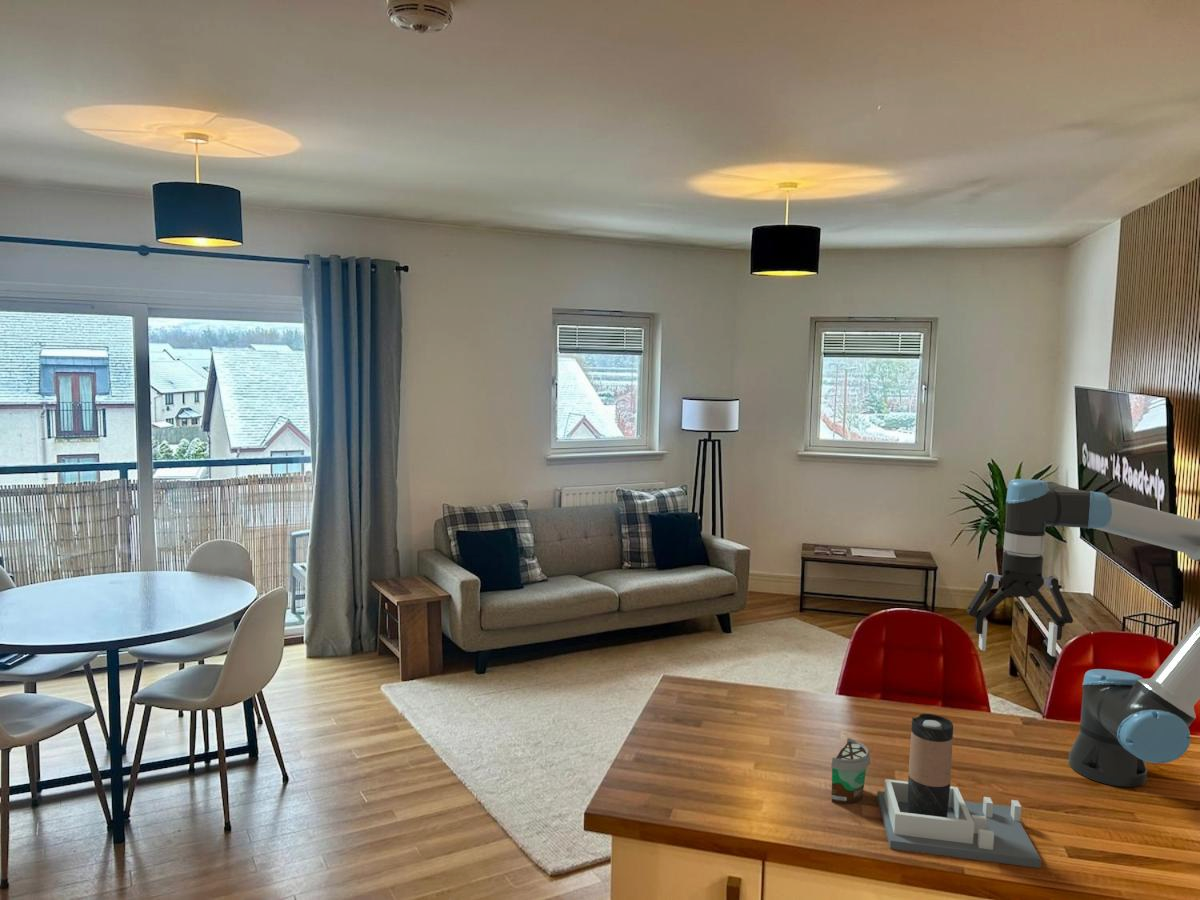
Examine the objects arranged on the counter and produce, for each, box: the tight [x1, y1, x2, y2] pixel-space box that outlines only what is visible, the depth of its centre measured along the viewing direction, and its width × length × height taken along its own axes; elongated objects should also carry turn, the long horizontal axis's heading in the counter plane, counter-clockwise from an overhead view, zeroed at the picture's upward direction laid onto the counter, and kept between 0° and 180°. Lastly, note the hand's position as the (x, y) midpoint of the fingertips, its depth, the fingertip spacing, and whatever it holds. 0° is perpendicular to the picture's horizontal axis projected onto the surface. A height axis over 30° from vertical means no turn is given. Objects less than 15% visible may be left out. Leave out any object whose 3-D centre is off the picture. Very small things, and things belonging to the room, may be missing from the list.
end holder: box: [883, 778, 974, 844], centre depth 162 cm, size 14×14×4 cm
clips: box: [972, 796, 1023, 850], centre depth 159 cm, size 10×14×3 cm
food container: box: [830, 737, 871, 805], centre depth 173 cm, size 12×6×10 cm, turn 148°
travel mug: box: [907, 713, 954, 818], centre depth 161 cm, size 8×8×20 cm
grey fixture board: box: [876, 790, 1042, 869], centre depth 161 cm, size 26×19×2 cm
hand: (1016, 651), depth 175 cm, fingers open, 13 cm apart
